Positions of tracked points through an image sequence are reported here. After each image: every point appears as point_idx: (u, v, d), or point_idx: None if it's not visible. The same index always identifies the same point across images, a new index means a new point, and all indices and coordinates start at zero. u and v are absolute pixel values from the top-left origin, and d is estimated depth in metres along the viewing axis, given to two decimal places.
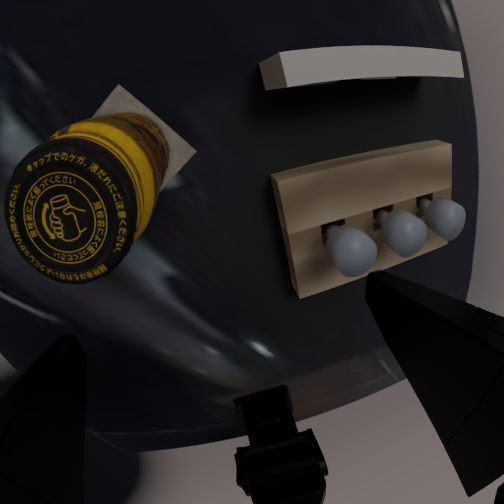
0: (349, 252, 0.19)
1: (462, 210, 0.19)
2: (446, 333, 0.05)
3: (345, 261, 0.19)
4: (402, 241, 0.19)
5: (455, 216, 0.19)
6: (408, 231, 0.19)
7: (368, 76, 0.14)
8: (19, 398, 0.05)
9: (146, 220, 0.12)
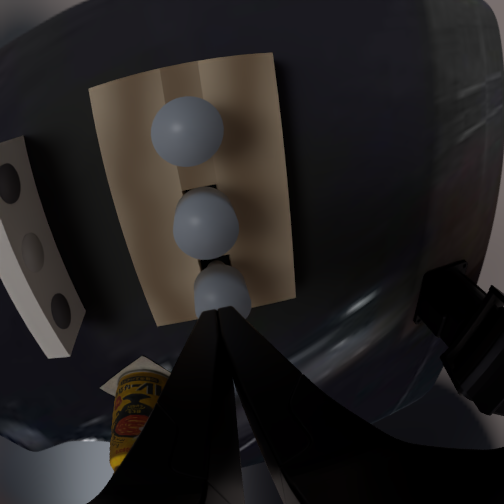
0: None
1: (162, 114, 0.11)
2: (245, 401, 0.05)
3: None
4: (208, 246, 0.14)
5: (173, 130, 0.11)
6: (193, 239, 0.14)
7: (33, 296, 0.14)
8: (199, 385, 0.05)
9: None
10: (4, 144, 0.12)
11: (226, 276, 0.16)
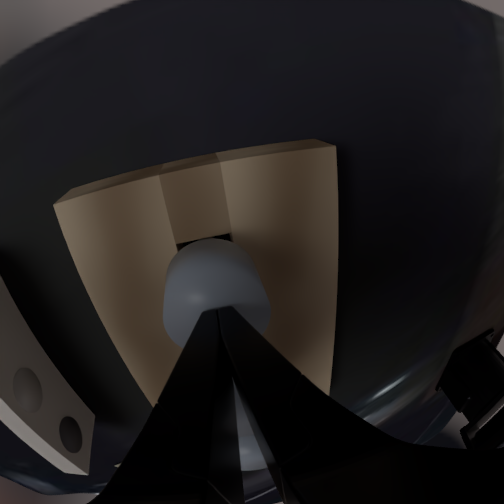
0: (248, 465, 0.12)
1: (178, 298, 0.08)
2: (245, 401, 0.05)
3: (260, 465, 0.12)
4: (247, 428, 0.10)
5: (197, 318, 0.08)
6: None
7: (40, 437, 0.10)
8: (199, 385, 0.05)
9: None
10: None
11: None
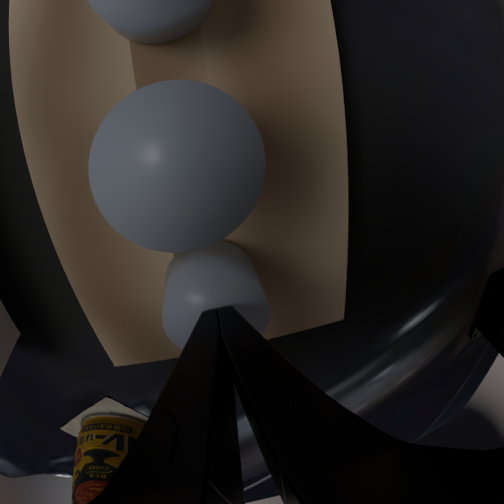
0: None
1: None
2: (246, 401, 0.05)
3: None
4: (182, 217, 0.05)
5: None
6: (140, 197, 0.05)
7: None
8: (199, 385, 0.05)
9: None
10: None
11: (222, 260, 0.08)
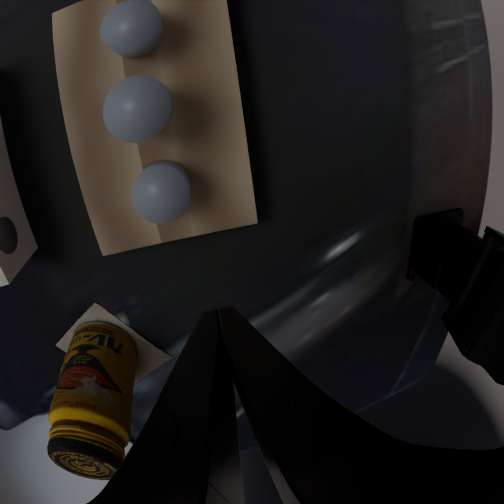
0: (151, 209, 0.15)
1: (111, 13, 0.10)
2: (246, 401, 0.05)
3: (163, 212, 0.15)
4: (138, 127, 0.11)
5: (118, 25, 0.10)
6: (122, 119, 0.11)
7: None
8: (199, 385, 0.05)
9: (97, 416, 0.15)
10: None
11: (165, 164, 0.15)
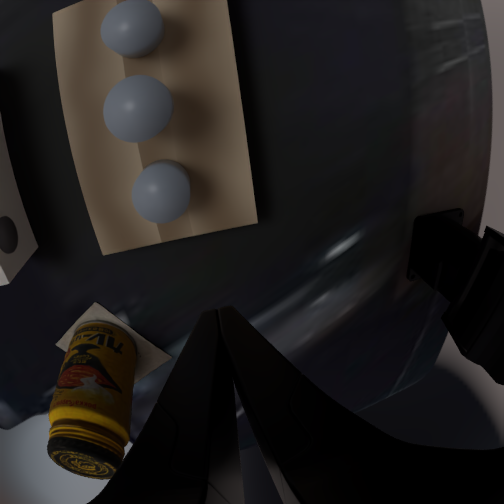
0: (151, 208, 0.15)
1: (111, 13, 0.10)
2: (245, 401, 0.05)
3: (164, 212, 0.15)
4: (138, 127, 0.11)
5: (119, 24, 0.10)
6: (122, 119, 0.11)
7: None
8: (199, 385, 0.05)
9: (97, 416, 0.15)
10: None
11: (165, 163, 0.15)
